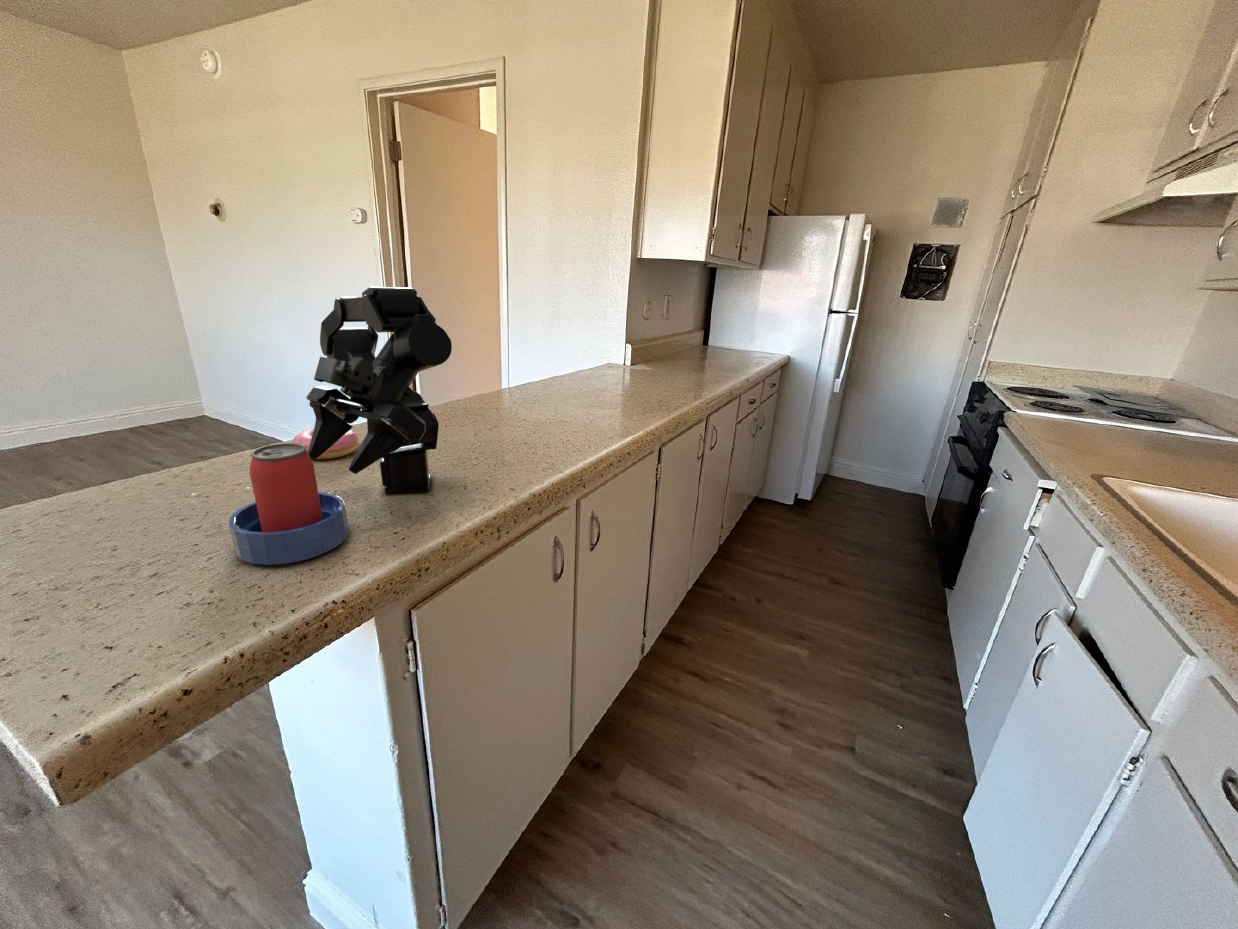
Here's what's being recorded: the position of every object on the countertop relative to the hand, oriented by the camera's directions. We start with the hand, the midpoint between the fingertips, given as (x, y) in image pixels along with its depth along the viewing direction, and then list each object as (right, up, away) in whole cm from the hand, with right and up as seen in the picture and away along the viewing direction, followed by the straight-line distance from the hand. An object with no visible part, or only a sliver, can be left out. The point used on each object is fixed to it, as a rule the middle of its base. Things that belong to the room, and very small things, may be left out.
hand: (330, 464), depth 68 cm
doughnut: (-17, +2, +29) cm, 33 cm away
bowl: (-3, -10, -3) cm, 11 cm away
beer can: (-3, -10, -3) cm, 10 cm away
